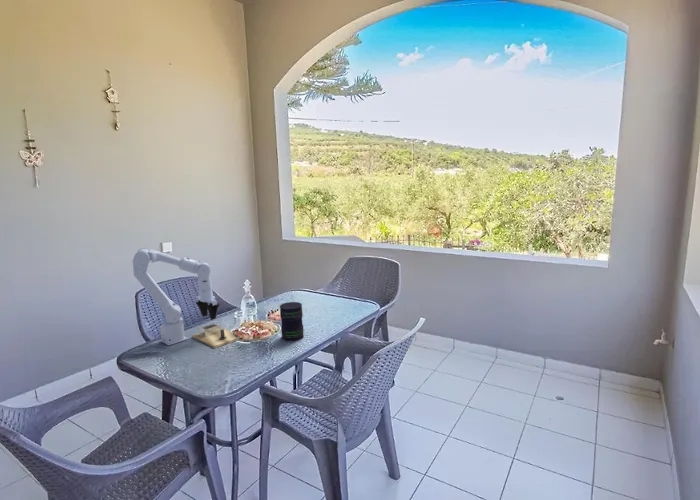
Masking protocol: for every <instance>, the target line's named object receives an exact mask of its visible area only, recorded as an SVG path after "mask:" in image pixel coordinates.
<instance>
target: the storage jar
mask: <svg viewBox="0 0 700 500" xmlns="http://www.w3.org/2000/svg"><path fill="white" fill-rule="evenodd" d="M302 305H303V303H301V302H299V301H298V302H297V301H290V302H284V303H281V304H280V305H279V313H280V314H279V315H280V316H279V317H280V319H281V327H280V328H281V329H280V331H281V339H282V340H283V341H285V342H297V341H300V339H301V340H302V339H304V337H305V336H304V331H305V329H304V324H303V306H302Z"/></svg>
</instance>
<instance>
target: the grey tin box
mask: <svg viewBox="0 0 700 500" xmlns="http://www.w3.org/2000/svg"><path fill="white" fill-rule="evenodd" d="M221 328H222V325H220V324H218V323H215V322H214V323H210V324H207V325H203V326H199V327H198V332H199V334H200V335H202V336H205V337H207V336H210V335H213V334H216V333H219V332H220V330H221Z"/></svg>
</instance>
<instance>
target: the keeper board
mask: <svg viewBox="0 0 700 500" xmlns="http://www.w3.org/2000/svg"><path fill="white" fill-rule="evenodd" d="M232 332H233V331H231V330H228V329H227V328H226V329H225V328H223V327H221V330H220V332H219V333H216V334H213V335H210V336H207V337H205V336H202V335H200V334H199V333H198V332H197V333H196V334H192V335H191V338H192V339H194V340H196V341H199V342H201V343H203V344H205V345H207V346H209V347H211V348H213V349H217V348H220V347H222V346H225V345H228V344H232V343H233V342H237V341H238V340H237V338H235V337H234V335H233V333H234V332H233V333H232Z"/></svg>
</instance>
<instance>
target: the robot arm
mask: <svg viewBox="0 0 700 500" xmlns="http://www.w3.org/2000/svg"><path fill="white" fill-rule="evenodd" d="M150 262H151V264H154V263H156V262H162V263H165V264H166V263H167V264H170V265H173V266H176V267H177V266H178V268H179V270H182V271H185V272H188V273H191V274H197V278H198V279H197V285H198V291H199V293H198V294H199V295H196V299H197V301H196V302H195V304H196V306H197V307H198V309H199V311H200V313H201V314H200V315H201V316H202V317H207V316H208V314H209V319H210V320H211V321H213V320H216V318H217V312H218V308H219V306H220V303H218V300H217V299H216V296H215V295H214V294H213V285H212V278H211V274H210V273H211V268H210V264H209V263H208V262H205V261H201V260H196V259H191V257H190V256H186V257H185V256H184V257H182V258H179V257H177V256H174V255H172V254H171V255H170V254H168V253H165V252H162V251H159V250H155V249H149V248H147V247H141V248H140V249H138V251H136V253H135V254H134V256H133V258H132V267H133V271H132V272H133V276H134V278H135V279H137V281H138V282H139V283H140V285H141V286H142V287H143V288H144V289H145V290H146V292H147V293H148V294H149V295H150V296H151V297H152V299H153V300H154V302H156V304H157V305H158V306H159V307H160V310H161V312H162V313H163V315H164V318H165V322H164V323H163V324H161V325H160V327H159V331H160V338H161V340H160V342H161V343H163V344H165V345H167V346H171V345H174V344H178V343H180V342H183V341H187V340H189V337H187V336H185V328H184V327H185V326H184V318H183V317H182V316H181V314H182V308H181V306H180V305H179V304H176V303H175V302H174V301H173V300H171V299H170V298H169V297H168V296H167V294H166V293H165V291H163V289H162V288H161V287H160V286H159V284H158V283H157V282H156V281H155V279H153V277H152V276H151V275H150V274H149V272H148V268H149V264H150Z"/></svg>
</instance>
